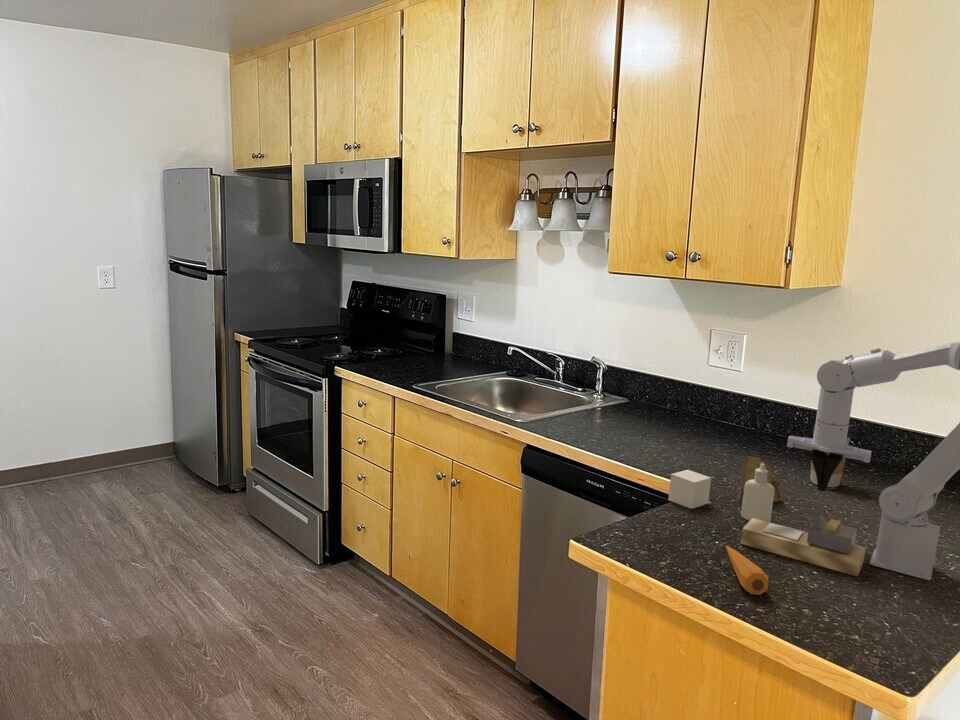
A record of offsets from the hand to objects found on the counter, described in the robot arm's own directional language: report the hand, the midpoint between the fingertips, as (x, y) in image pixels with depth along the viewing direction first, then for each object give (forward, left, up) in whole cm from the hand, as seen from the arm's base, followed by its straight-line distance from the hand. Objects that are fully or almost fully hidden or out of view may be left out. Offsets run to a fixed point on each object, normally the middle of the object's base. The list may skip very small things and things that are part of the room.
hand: (822, 489), depth 144 cm
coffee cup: (+4, -36, -10) cm, 37 cm away
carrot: (+7, +26, -10) cm, 29 cm away
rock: (+13, -12, -10) cm, 20 cm away
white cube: (+26, 0, -10) cm, 28 cm away
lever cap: (-4, +11, -6) cm, 13 cm away
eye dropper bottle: (+11, 0, -10) cm, 15 cm away
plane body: (0, +11, -10) cm, 15 cm away
